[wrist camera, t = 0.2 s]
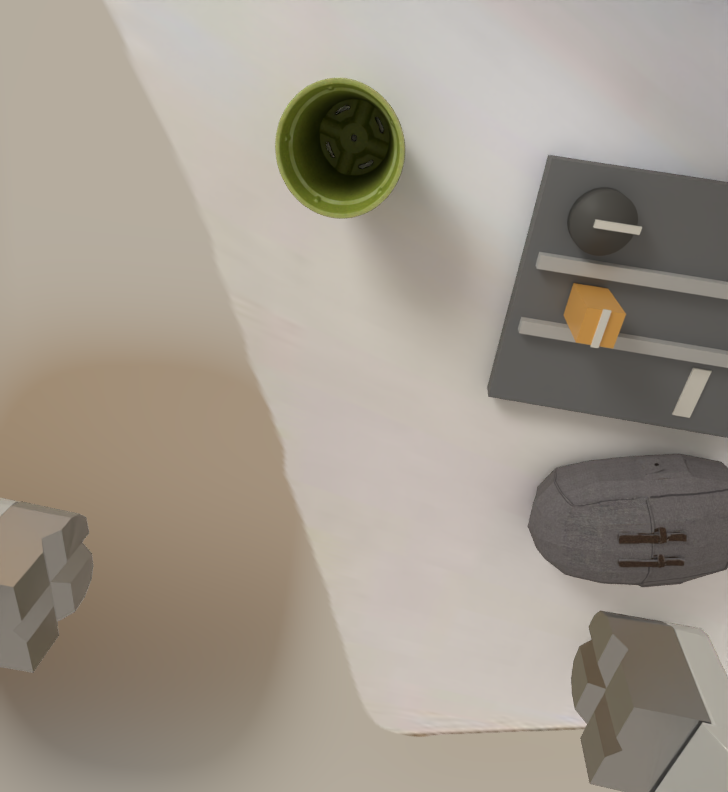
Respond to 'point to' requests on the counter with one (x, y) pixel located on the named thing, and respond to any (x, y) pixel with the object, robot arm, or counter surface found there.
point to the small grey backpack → (634, 519)
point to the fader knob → (593, 316)
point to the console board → (623, 298)
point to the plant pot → (339, 148)
